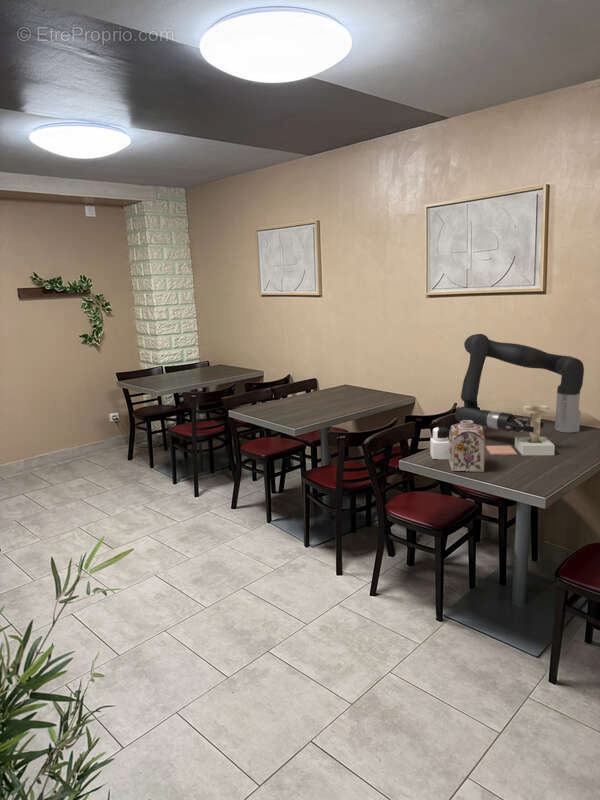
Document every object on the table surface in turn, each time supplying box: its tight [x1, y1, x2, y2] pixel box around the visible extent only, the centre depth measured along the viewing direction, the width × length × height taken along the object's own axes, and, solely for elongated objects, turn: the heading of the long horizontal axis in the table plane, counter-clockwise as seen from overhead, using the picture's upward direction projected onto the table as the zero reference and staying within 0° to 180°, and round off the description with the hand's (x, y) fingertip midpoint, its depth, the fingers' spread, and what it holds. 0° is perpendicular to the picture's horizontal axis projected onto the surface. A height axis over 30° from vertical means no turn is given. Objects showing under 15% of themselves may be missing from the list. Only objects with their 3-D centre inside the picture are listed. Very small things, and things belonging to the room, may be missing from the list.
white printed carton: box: [429, 426, 449, 460], centre depth 222 cm, size 7×7×12 cm
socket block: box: [514, 436, 556, 456], centre depth 225 cm, size 12×12×4 cm
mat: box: [485, 445, 517, 456], centre depth 227 cm, size 10×10×1 cm
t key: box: [522, 404, 550, 443], centre depth 223 cm, size 9×3×18 cm, turn 83°
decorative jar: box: [448, 420, 486, 473], centre depth 208 cm, size 12×12×18 cm
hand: (538, 427), depth 222 cm, fingers open, 8 cm apart
